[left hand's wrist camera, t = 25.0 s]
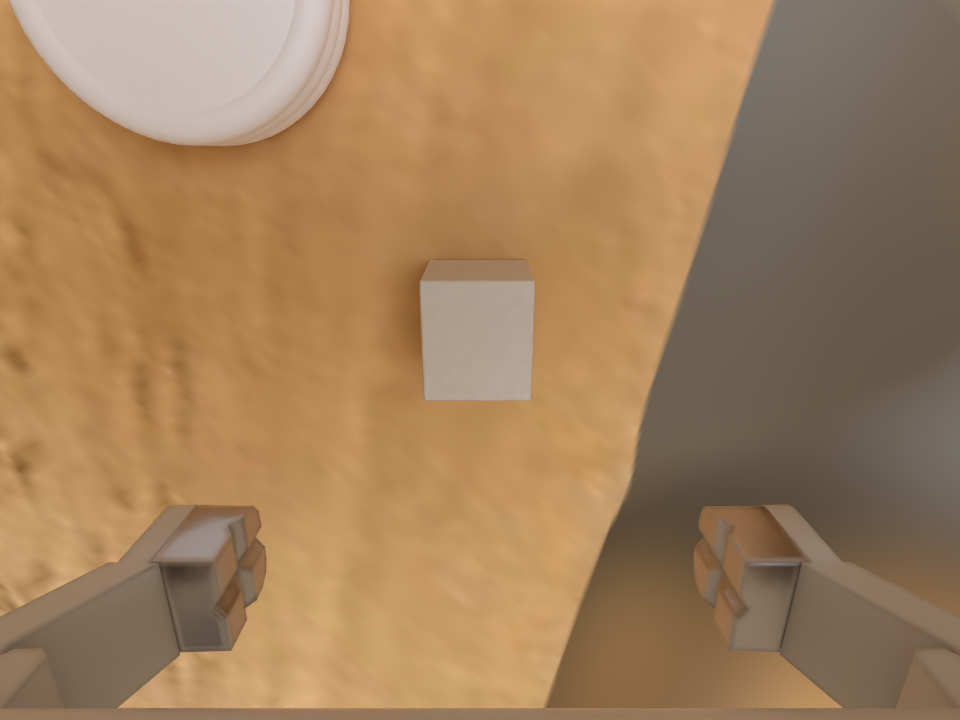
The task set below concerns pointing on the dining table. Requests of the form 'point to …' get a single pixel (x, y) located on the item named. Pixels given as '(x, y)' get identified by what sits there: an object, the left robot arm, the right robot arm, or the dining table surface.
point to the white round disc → (192, 61)
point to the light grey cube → (477, 330)
